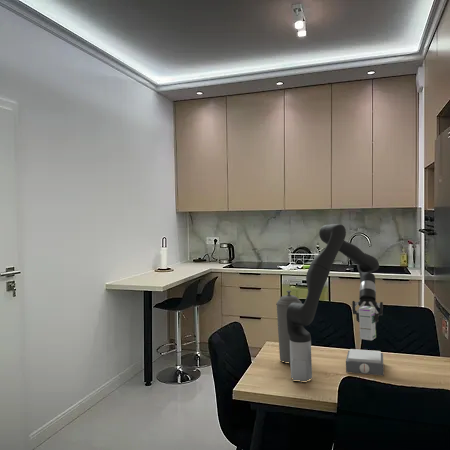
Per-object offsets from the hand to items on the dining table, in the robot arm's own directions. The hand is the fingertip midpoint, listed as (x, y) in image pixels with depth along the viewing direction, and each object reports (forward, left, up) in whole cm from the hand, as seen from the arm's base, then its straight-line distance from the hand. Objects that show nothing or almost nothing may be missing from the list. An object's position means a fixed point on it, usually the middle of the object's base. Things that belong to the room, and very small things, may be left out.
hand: (367, 321), depth 193 cm
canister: (+3, +37, -22) cm, 43 cm away
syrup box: (+2, 0, -8) cm, 8 cm away
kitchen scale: (+2, +2, -22) cm, 22 cm away
